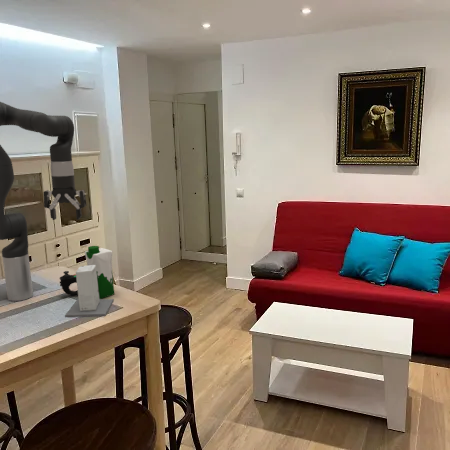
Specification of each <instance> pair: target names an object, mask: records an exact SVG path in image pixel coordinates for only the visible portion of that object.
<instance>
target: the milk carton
mask: <svg viewBox="0 0 450 450" xmlns="http://www.w3.org/2000/svg"><path fill="white" fill-rule="evenodd" d="M87 248H88V249H87V250H86V251H84V256H85V259H86V266H87V265H96V273H97V281H98V291H99V299H106V297H110V296H113V295H115V286H114V274H113V273H114V272H113V262H112V261H113V253H114V252H113V250H110V249H108V248H104V247H99V245H90V246H88V247H87Z"/></svg>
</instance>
